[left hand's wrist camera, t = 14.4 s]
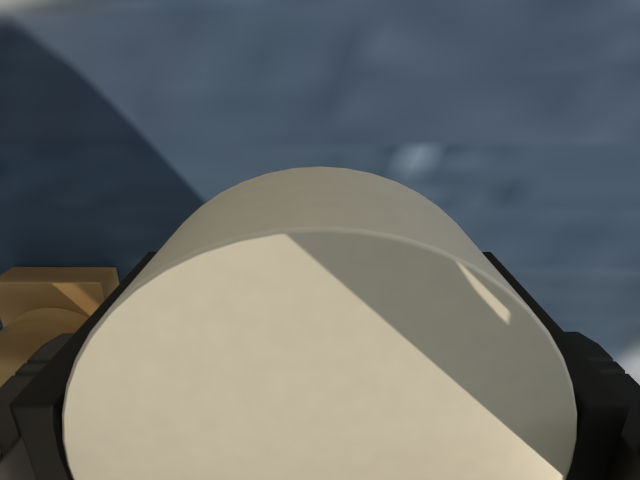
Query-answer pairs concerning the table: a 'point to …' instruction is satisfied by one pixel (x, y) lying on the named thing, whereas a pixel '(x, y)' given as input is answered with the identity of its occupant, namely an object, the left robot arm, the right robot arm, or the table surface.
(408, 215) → the cap
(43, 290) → the canister stand
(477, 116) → the table surface
